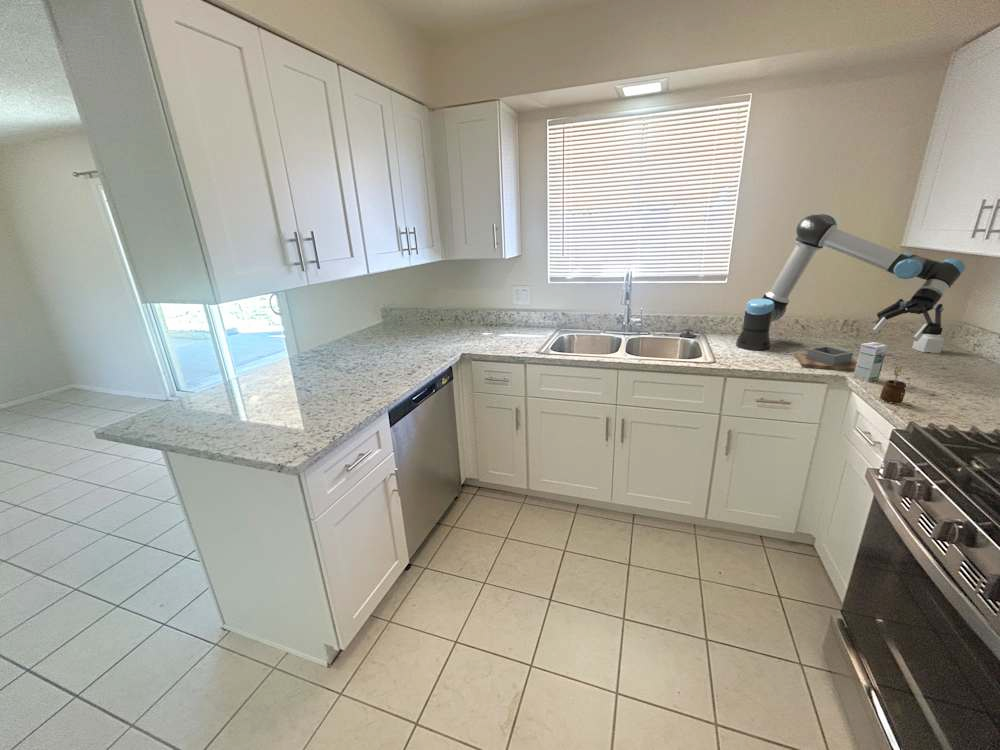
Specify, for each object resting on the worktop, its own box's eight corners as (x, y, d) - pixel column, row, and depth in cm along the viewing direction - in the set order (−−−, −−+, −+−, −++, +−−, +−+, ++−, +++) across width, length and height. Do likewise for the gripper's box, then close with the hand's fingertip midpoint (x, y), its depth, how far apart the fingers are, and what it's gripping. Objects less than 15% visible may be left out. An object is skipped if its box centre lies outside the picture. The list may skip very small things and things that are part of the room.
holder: (805, 358, 188) (807, 349, 186) (823, 355, 192) (825, 345, 190) (832, 366, 178) (835, 356, 176) (850, 362, 181) (853, 352, 180)
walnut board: (801, 366, 182) (802, 363, 182) (793, 355, 197) (794, 352, 196) (864, 372, 174) (865, 369, 173) (851, 360, 188) (852, 357, 188)
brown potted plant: (880, 402, 146) (890, 370, 142) (878, 396, 151) (887, 365, 147) (903, 405, 143) (914, 373, 139) (899, 399, 148) (910, 367, 144)
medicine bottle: (940, 353, 194) (949, 328, 190) (923, 353, 195) (931, 328, 191) (928, 349, 200) (936, 324, 196) (911, 348, 201) (919, 324, 197)
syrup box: (867, 382, 164) (878, 346, 159) (852, 377, 169) (861, 342, 164) (878, 380, 165) (889, 345, 160) (862, 375, 171) (872, 341, 166)
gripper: (973, 305, 155) (936, 348, 156) (894, 295, 177) (861, 333, 178) (970, 291, 152) (932, 336, 152) (889, 283, 174) (856, 323, 174)
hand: (894, 335), depth 165 cm, fingers open, 13 cm apart
